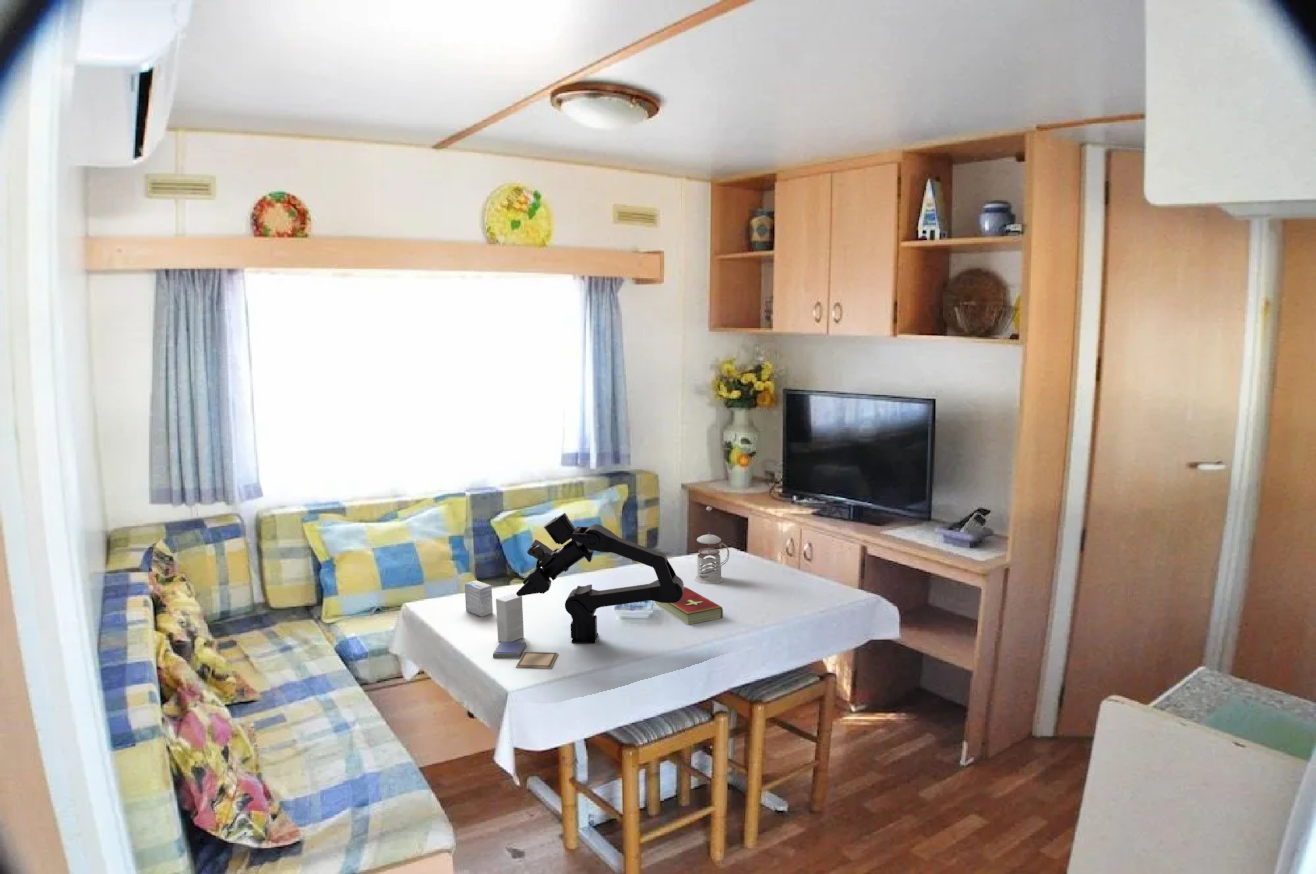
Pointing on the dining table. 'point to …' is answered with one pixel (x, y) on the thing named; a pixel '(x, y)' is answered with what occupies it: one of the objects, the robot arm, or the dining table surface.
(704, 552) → the french press
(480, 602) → the medicine box
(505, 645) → the ink pad
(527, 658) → the marked board
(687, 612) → the hardcover book
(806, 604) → the dining table surface
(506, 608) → the skincare box
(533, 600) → the dining table surface
